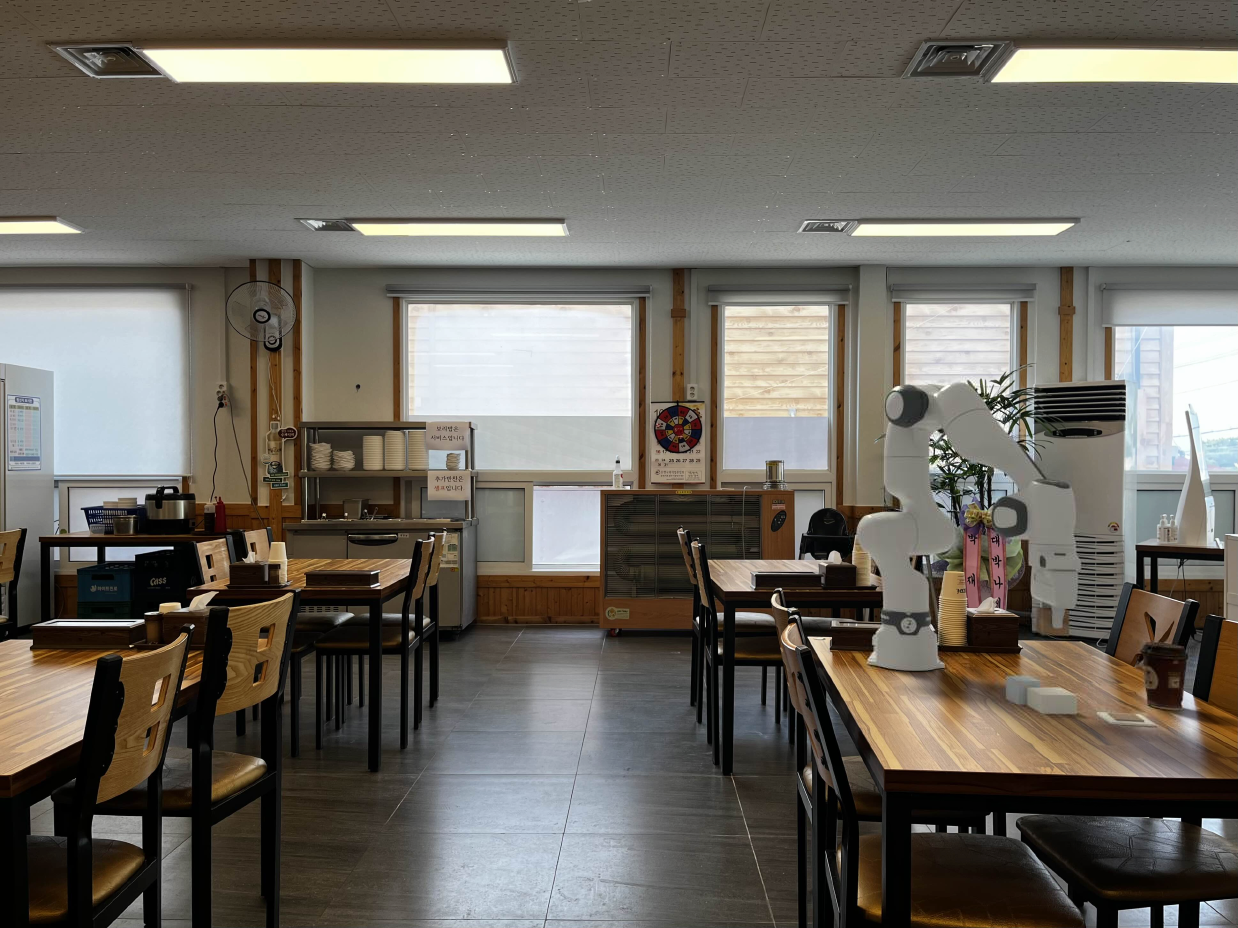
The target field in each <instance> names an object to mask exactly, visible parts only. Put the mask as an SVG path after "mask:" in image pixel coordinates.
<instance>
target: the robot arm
mask: <svg viewBox="0 0 1238 928" xmlns="http://www.w3.org/2000/svg"><path fill="white" fill-rule="evenodd" d="M884 412H885V416H886V418H887V420H888V421H889V422H888V424H887V428H886V432H885V433H886V434H885V438H884V439H885V440H884V451H883V486H884V488H885V489H886V491H887V492H888V493H889V494H890V495H892V496H893V497H895V498H896V499H898V500H899V501H900V504H901V507H902V510H903V511H881V512H875V513H870V514H866V515H864V516H863V517H862V518H861V519H860V521H859V522H858V524H857V527H856V539H857V542H858V544H859V546H860V548H861V549H862V550H863V551H864V552H866V553H867V554H868V555H869V556H870V557H871V559H873V561H874V563H876V566H877V568H878V570H879V573H880V576H881V581H882V584H881V585H882V598H883V601H882V605H883V607H882V608H881V613H880V617H881V619H880V622H881V626H880V627H879V628H878V629H877V631H876V632H875V634H873V636H872V638H871V639H872V640H871V641H872V642H871V645H872V646H873V652H872V653H871V654H870V656H869V657H868V658H867V661H866V665H872V666H876V667H877V666H878V667H883V668H884V669H885V668H886V669H891V670H899V671H914V672H915V671H918V672H919V671H931V670H935V669H936V670H937V669H945V668H946V666H945V665H946V664H945V663H944V662H942V661H941V660H939V659H938V658H939V657H938V654H939V653H938V636H937V635H938V634H937V633H935V631H933V630H932V628H931V624H932V623H931V622H932V621H931V620H932V616H931V615H932V614H931V611H930V606H929V605H930V604H929V603H930V602H929V601H930V597H929V595H930V584H929V581H928V579H927V577H926V576H925V575H924V574H923V573H921V572H920V571H918V570H916V569H914V568H913V566H912V564H911V562H910V560H911V559H910V556H932V555H937V554H941V553H945V552H947V551H950V549H952V547H953V546H954V544H955V541H956V537H957V535H956V534H957V532H956V528H955V524H954V522H953V521H952V520H951V518H950V517H949V516H948V515H946V514H945V513H944V512H943V511H942V509H940V507H939V506H938V504H937V502H936V500H935V498H934V496H933V492H932V487H931V476H930V475H931V474H930V439H931V437H932V435H933V434H935V432H936V431H937V433H939V434H941V435H942V434H945V436H946V438H947V440H948V442H949V444H950V446H951V447H952V449H954V450H955V452H956V453H957V454H958V455H959V456H960V457H962V458H963V459H965V460H968V461H969V462H970V461H971V462H973V463H976V464H981V465H984V466H987V467H991V468H993V469H995V470H998V471H1000V472H1002V473H1004V474H1005V475H1007V476H1008V477H1009V478H1010V479H1011V480H1012V481H1013V483H1014V484H1015V485H1016V487H1017V488H1018V489H1019V491H1017V492H1015V493H1012V494H1009V495H1006V496H1001V497H1000V498H998V499H997V500H996V502H994V504H993V507H992V509H991V513H990V515H991V516H990V517H991V524H992V527H993V529H994V531H995V532H996V534H997V535H999V536H1000V537H1002V538H1004V539H1008V540H1023V541H1028V566H1031V573H1030V574H1031V575H1030V594H1031V598H1034V599H1036V600H1038V601H1039V607H1051V608H1052V618H1051V626H1052V627H1054V628H1062V620H1063V616H1064V613H1065V609H1066V610H1068V609H1071V610H1072V609H1075V607H1076V605H1077V601H1078V587H1079V574H1078V571H1080V570H1082V561H1081V559H1080V557H1079V556H1078V554H1077V553H1078V552H1077V545H1076V544H1077V543H1076V539H1075V534H1074V532H1075V527H1076V523H1077V518H1076V517H1077V510H1076V509H1077V508H1076V500H1075V493H1074V491H1073V488H1072V486H1071V485H1070V484H1069V483H1067V482H1066V481H1063V480H1059V479H1058V480H1056V479H1050V478H1048V477H1046V476H1045V474H1044V473H1043V471H1042V470H1041V469H1040V467H1039V466H1038V465H1037V464H1036V462H1035V461H1034V460H1033V458H1032V457H1031V455H1029V453H1028V452H1027V450H1026V449H1025V448H1024V447H1023V446H1022V445H1021V444H1019V442H1017V440H1015V439H1014V438H1013V437H1012V436H1011V435H1010V434H1008V432H1007V431H1006V430H1005V429H1004V428H1003V427H1002V426H1001V425H1000V423H999V422H998V421H997V420H996V417H995V416H994V415H993V413H992V412H991V410H990V408H989V407H988V405H987V404H986V402H985V401H984V400H983V398H982V396H980V395H979V394H978V392H977V391H976V390H975V389H974V388H973V387H972V386H971V385H970V384H968V383H965V382H962V381H961V382H960V381H958V382H952V383H949V384H947V385H942V384H935V383H934V384H933V383H931V384H930V383H928V384H902V385H898V386H895V387H893V388H892V389H891V390H890V391H888V394H887V396H886V399H885V402H884Z"/></svg>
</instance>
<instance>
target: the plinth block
mask: <svg viewBox="0 0 1238 928" xmlns="http://www.w3.org/2000/svg"><path fill="white" fill-rule="evenodd" d="M1026 706H1027V707H1029V708H1031V709H1033V710H1035V711H1037V712H1038V713H1040V714H1043V715H1045V714H1046V715H1048V714H1049V715H1052V714H1053V715H1078V695H1077V694H1075V693H1073V692H1071V691H1068V690H1067V689H1064V688H1062V687H1046V686H1045V687H1044V686H1043V687H1042V686H1041V687H1027V705H1026Z"/></svg>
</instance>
